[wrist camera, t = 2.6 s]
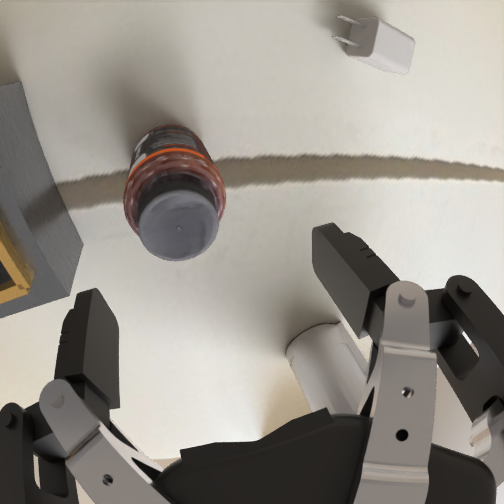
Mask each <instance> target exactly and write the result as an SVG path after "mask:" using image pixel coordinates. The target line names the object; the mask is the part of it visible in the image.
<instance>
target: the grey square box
mask: <svg viewBox="0 0 504 504" xmlns="http://www.w3.org/2000/svg"><path fill="white" fill-rule="evenodd" d="M83 245H84V244H83V242H82V241H81V239H80V237H79V235H78V233H77V231H76V229H75V226H74V224H73V222H72V220H71V218H70V216H69V214H68V212H67V210H66V207H65V205H64V203H63V201H62V198H61V196H60V194H59V192H58V189H57V187H56V184H55V182H54V180H53V177H52V175H51V172H50V170H49V167H48V165H47V162H46V159H45V157H44V154H43V151H42V148H41V146H40V143H39V140H38V137H37V134H36V131H35V128H34V125H33V122H32V118H31V115H30V112H29V108H28V105H27V101H26V98H25V94H24V90H23V86H22V82H16V83H11V84H6V85H1V86H0V318H3V317H6V316H9V315H12V314H15V313H18V312H21V311H24V310H27V309H30V308H33V307H37V306H40V305H43V304H46V303H49V302H52V301H55V300H58V299H61V298H64V297H68V296H70V292H71V288H72V284H73V280H74V276H75V272H76V269H77V265H78V262H79V258H80V255H81V251H82V248H83Z"/></svg>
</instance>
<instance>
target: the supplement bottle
mask: <svg viewBox="0 0 504 504" xmlns="http://www.w3.org/2000/svg"><path fill="white" fill-rule="evenodd" d="M123 204H124V211H125V216H126V219H127V221H128V223H129V224H130V226H131V228H132V229H133V230H134V232H135V233H136V234H137V235H138V236H139V237H140V239H141V241H142V243H143V245H144V246H145V247H146V249H147V250H148V251H149V252H150V253H152V254H153V255H155V256H157V257H159V258H162V259H164V260H169V261H183V260H187V259H190V258H194V257H196V256H198V255H200V254H201V253H203V252H204V251H205V250H206V249H207V248H208V247H209V246H210V245H211V244H212V242H213V241H214V240H215V238H216V235H217V232H218V228H219V221H220V219H221V218H222V215H223V213H224V209H225V204H226V192H225V187H224V183H223V180H222V177H221V175H220V174H219V171H218V170H217V168H216V166H215V164H214V163H213V161H212V159H211V157H210V155H209V153H208V152H207V150H206V148H205V147H204V145H203V143H202V142H201V140H200V139H199V138H198V137H197V136H196V135H195V134H194V133H193V132H192V131H190V130H189V129H187V128H185V127H181V126H177V125H165V126H160V127H157V128H155V129H153V130H151V131H150V132H148V133H147V134H146V135H145V136H144V137H143V138H142V139H141V140H140V141H139V143H138V145H137V146H136V148H135V150H134V153H133V157H132V160H131V165H130V169H129V173H128V177H127V182H126V186H125V191H124V202H123Z"/></svg>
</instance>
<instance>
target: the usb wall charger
mask: <svg viewBox="0 0 504 504" xmlns="http://www.w3.org/2000/svg"><path fill="white" fill-rule="evenodd" d="M337 17H338V18H340V19H343V20H345V21H347V22H350V23H352V25H351V29H350V34H349V39H348V40H347V39H344V38H341V37H339V36H332V37H333V38H335V39H337V40H340V41H342V42H345V43H347V48H346V54H347V56H350V57H352V58H355V59H357V60H359V61H362V62H364V63H367V64H369V65H371V66H374V67H376V68H378V69H380V70H382V71H385V72H391V73H396V74H402V75H405V74H407V73H408V72H409V70H410V66H411V61H412V57H413V52H414V47H415V40H414V39H413V38H412V37H410V36H409V35H407V34H405V33H404V32H402V31H400V30H399V29H397V28H395V27H393V26H392V25H390V24H388V23H386V22H384V21H383V20H381V19H379V18H377V17H368V18H357V19H355V20H352V19H350V18H348V17H345V16H343V15H338V16H337Z"/></svg>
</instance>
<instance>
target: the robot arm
mask: <svg viewBox="0 0 504 504" xmlns="http://www.w3.org/2000/svg"><path fill="white" fill-rule="evenodd" d="M312 263H313V268H314V271H315V273H316V275H317V277H318V278H319V280H320V281H321V283H322V284H323V286H324V287H325V289H326V290H327V292H328V293H329V295H330V296H331V298H332V299H333V301H334V302H335V304H336V305H337V307H338V308H339V310H340V311H341V313H342V314H343V316H344V317H345V319H346V320H347V322H348V323H349V325H350V326H351V328H352V329H353V331H354V332H355V334H356V336H357V337H358V339H361V338H363V337H365V336H368V335H369V336H370V337H371V339H372V340H373V341H372V344H371V351H370V357H369V363H368V362H367V361H366V359H365V358H364V356H363V354H362V353H361V351H360V350H359V348H358V347H357V345H356V344H355V342H354V341H353V339H352V337H351V336H350V334H349V333H348V331H347V330H346V328H345V327H344V325H343V324H342V322H341V323H338V324H322V325H318V326H315V327H313V328H310V329H309V330H307V331H305V332H303V333H302V334H300V335H299V336H298V337H296V338H295V339H294V340H293V341H292V342H291V344H290V345H289V347H288V349H287V351H286V356H287V359H288V361H289V363H290V366H291V368H292V370H293V372H294V374H295V376H296V379H297V381H298V383H299V385H300V387H301V389H302V391H303V394H304V396H305V398H306V400H307V402H308V404H309V406H310V408H311V411H312V413H310V414H307V415H304V416H302V417H299V418H296V419H293V420H291V421H289V422H288V423H286V424H285V425H283V426H281V427H280V428H278V429H277V430H275V431H273V432H272V433H270V434H268V435H267V436H265V437H263V438H261V439H260V440H257V441H252V442H215V443H210V444H206V445H201V446H197V447H192V448H186V449H181V450H180V454H181V459H179V460H177V461H175V462H173V463H172V464H170V465H169V466H168V467H167V468H165V469H163V468H162V467H160V466H159V465H158V464H157V463H155V462H154V461H153V460H152V459H150V458H149V457H148V456H146V455H145V454H144V453H143V452H142V451H141V450H140V449H139V448H138V447H137V446H136V445H135V444H134V443H133V442H132V441H131V440H130V439H129V438H128V437H127V436H126V435H125V434H124V432H123V431H122V430H121V429H120V428H119V427H118V426H117V425H116V424H115V423H114V421H113V420H112V419H110V412H109V410H110V409H116V408H120V396H119V327H118V323H117V320H116V318H115V316H114V314H113V312H112V311H111V309H110V308H109V306H108V304H107V303H106V301H105V299H104V298H103V296H102V294H101V293H100V291H99V290H98V289H97V288H93V289H90V290H87V291H83V292H80V293H78V294H77V296H76V300H75V305H74V309H71V310H69V312H68V314H67V316H66V317H65V319H64V321H63V325H62V330H61V334H62V335H61V336H60V341H59V343H60V345H59V347H58V353H57V360H56V367H55V375H54V380H53V381H51V382H49V383H48V384H47V385H46V386H45V387H44V388H43V390H42V392H41V394H40V398H39V402H37V403H35V404H33V405H31V406H29V407H27V408H25V409H23V408H22V407H20V406H19V405H18V404H16V403H8V404H6V405H5V406H4V407H3V408H2V409H1V411H0V504H79V501H78V495H77V489H76V481H75V479H76V480H77V481H78V483H79V484H80V485H81V487H82V488H83V489H84V490H85V492H86V493H87V494H88V496H89V497H90V498H91V499H92V501H93V502H94V503H95V504H496V488H497V487H498V486H499V485H500V484H501V483H502V482H503V481H504V315H503V314H502V312H501V311H500V310H499V309H498V308H497V306H496V305H495V304H494V303H493V302H492V300H491V299H490V298H489V297H488V296H487V295H486V294H485V292H484V291H483V290H482V289H481V288H480V287H479V286H478V284H477V283H476V282H475V281H473V280H472V279H470V278H468V277H466V276H462V275H455V276H452V277H450V278H449V279H448V281H447V283H446V286H445V288H443V289H434V290H424V289H423V288H422V287H420V286H419V285H418V284H416V283H413V282H410V281H400V280H399V278H398V277H397V276H396V275H395V274H394V273H393V272H392V271H391V270H390V269H389V267H388V266H387V265H386V264H385V263H384V262H383V261H382V260H381V259H380V258H379V257H378V256H376V254H375V253H374V251H373V250H372V249H371V248H370V249H369V246H368V245H367V244H366V243H365V242H364V241H363V240H362V239H361V238H359V237H357V236H355V235H354V234H352V233H350V232H347V233H343V232H342V231H341V230H340V229H339V227H338V226H337V225H336V224H335V223H328V224H325V225H321V226H317V227H314V228H313V230H312ZM463 331H464V332H465V333H466V334H467V336H468V337H469V339H470V340H471V341H472V343H473V344H474V345H475V347H476V348H477V350H478V353H479V357H478V356H477V354H476V353H475V352H474V350H473V349H472V347H471V346H470V344H469V343H468V342H467V340H466V339H465V337H464V336H463V335H462V332H463ZM437 364H438V366H439V367H440V368H441V370H442V372H443V374H444V375H445V377H446V378H447V380H448V382H449V383H450V385H451V387H452V388H453V390H454V392H455V393H456V395H457V397H458V398H459V400H460V402H461V404H462V405H463V407H464V409H465V411H466V412H467V414H468V416H469V418H470V420H471V421H472V423H473V425H472V428H471V436H470V438H469V443H470V445H471V446H472V447H474V456H473V457H472V456H468V455H465V454H462V453H459V452H456V451H453V450H450V449H447V448H444V447H442V446H439V445H436V444H433V443H431V440H432V432H433V423H434V413H435V399H436V377H437ZM33 455H35V456H37V457H38V464H39V477H40V489H39V487H38V486H37V484H36V482H35V477H34V462H33V461H34V460H33Z"/></svg>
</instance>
